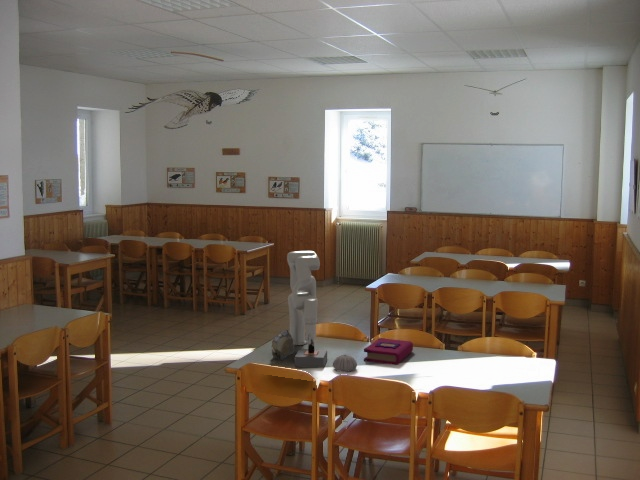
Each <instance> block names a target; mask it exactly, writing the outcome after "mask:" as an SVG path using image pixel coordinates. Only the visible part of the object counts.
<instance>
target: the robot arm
mask: <svg viewBox="0 0 640 480" xmlns="http://www.w3.org/2000/svg"><path fill="white" fill-rule="evenodd" d="M286 259H287V260H286V261H287V264H288V266H289V272H290V273H289V274H290V275H289V276H290V277H289V278H290V279H289V280H290V282H289V283H290V290H291V291H292V292H291V293H290V294H289V295H288V297H287V303H288V312H289V333H290V334H291V337H292V338H293V344H294V346H302V345H307V344H308V346H307V349H308V353H314V349H315V340H316V339H317V324H318V319H319V318H318V313H319V311H318V305H319V300H318V298H317V281H316V278H315V276H314V275H312V271H318V270H319V269H320V267H321V263H320V262H321V261H320V258H319V256H318V255H317V253H316V252H315V251H313V250H297V251H290V252H288V253H287V256H286Z"/></svg>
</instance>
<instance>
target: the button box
mask: <svg viewBox="0 0 640 480" xmlns="http://www.w3.org/2000/svg"><path fill="white" fill-rule="evenodd" d="M298 349H299V350H298V351H297V352H296V354H295V356H294V366H295V367H297V368H298V367H299V368H300V367H303V368H324V367H325V365H326V363H327V360H328V349H316V348H314V351H318V355H304V353H305V352H306V351H308V348H298Z"/></svg>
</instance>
